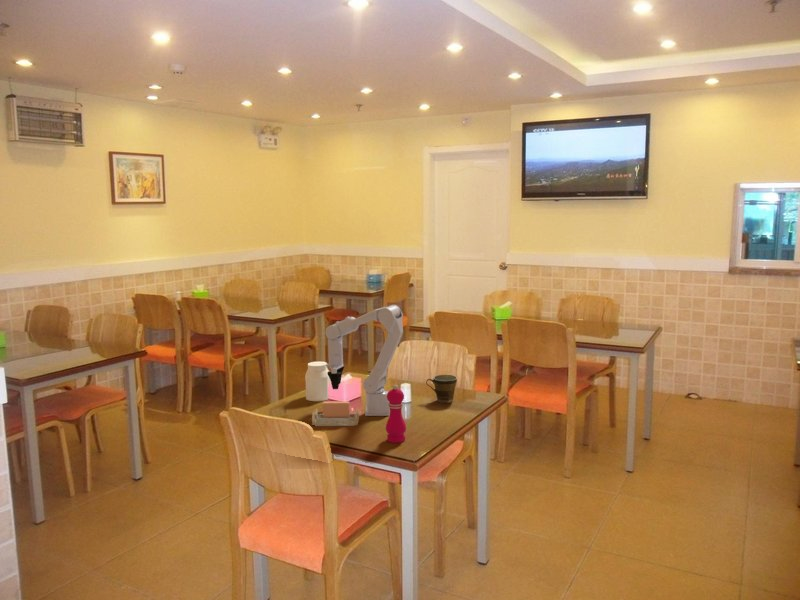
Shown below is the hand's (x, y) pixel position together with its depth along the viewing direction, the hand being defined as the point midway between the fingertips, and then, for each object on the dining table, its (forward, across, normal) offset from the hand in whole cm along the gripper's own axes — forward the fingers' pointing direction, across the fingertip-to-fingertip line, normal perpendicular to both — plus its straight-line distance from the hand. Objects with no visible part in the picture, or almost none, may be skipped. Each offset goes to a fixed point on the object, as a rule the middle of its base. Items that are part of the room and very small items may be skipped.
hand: (336, 386), depth 264 cm
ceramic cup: (+10, -10, +43) cm, 45 cm away
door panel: (+8, +17, +2) cm, 19 cm away
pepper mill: (+10, +36, +25) cm, 45 cm away
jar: (+10, -16, -10) cm, 21 cm away
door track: (+9, +17, +2) cm, 19 cm away
